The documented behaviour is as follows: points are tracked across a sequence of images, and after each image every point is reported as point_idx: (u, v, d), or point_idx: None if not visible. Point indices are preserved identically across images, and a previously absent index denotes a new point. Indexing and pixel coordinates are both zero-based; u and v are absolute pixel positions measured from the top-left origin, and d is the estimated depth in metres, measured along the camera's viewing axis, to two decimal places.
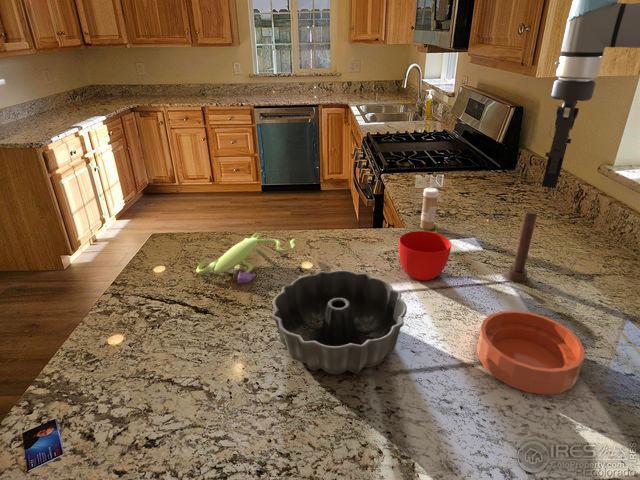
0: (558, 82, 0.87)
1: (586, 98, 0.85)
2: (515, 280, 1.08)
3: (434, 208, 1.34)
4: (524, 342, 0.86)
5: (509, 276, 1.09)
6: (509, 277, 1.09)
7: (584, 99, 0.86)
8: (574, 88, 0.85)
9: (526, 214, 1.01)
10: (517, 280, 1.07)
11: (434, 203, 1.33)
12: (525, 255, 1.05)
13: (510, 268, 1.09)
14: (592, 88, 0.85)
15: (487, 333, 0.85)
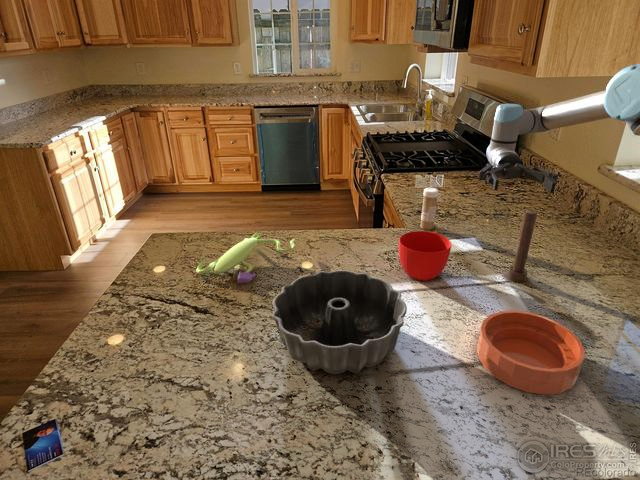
0: None
1: (502, 157, 1.23)
2: (515, 280, 1.08)
3: (434, 208, 1.34)
4: (524, 342, 0.86)
5: (509, 276, 1.09)
6: (509, 277, 1.09)
7: (501, 158, 1.23)
8: (495, 163, 1.26)
9: (526, 214, 1.01)
10: (517, 280, 1.07)
11: (434, 203, 1.33)
12: (525, 255, 1.05)
13: (510, 268, 1.09)
14: (504, 153, 1.25)
15: (487, 333, 0.85)
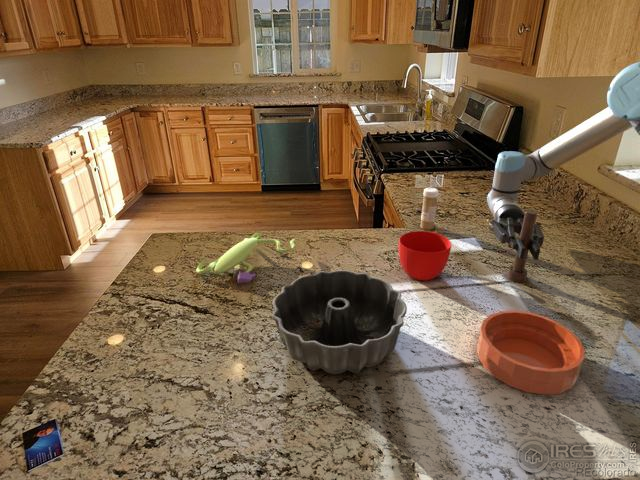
0: None
1: (504, 210, 1.17)
2: (515, 280, 1.08)
3: (434, 208, 1.34)
4: (524, 342, 0.86)
5: (509, 276, 1.09)
6: (509, 277, 1.09)
7: (503, 212, 1.17)
8: (496, 216, 1.20)
9: (526, 214, 1.01)
10: (517, 280, 1.07)
11: (434, 203, 1.33)
12: (525, 255, 1.05)
13: (510, 268, 1.09)
14: (506, 206, 1.19)
15: (487, 333, 0.85)
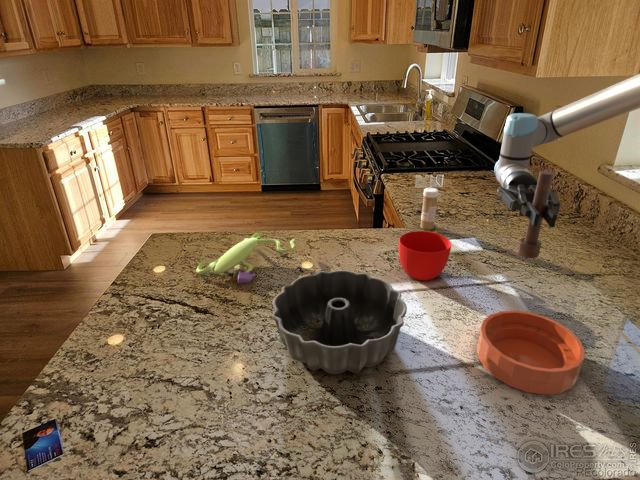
0: None
1: (514, 177, 1.04)
2: (527, 253, 0.94)
3: (434, 208, 1.34)
4: (524, 342, 0.86)
5: (520, 249, 0.95)
6: (520, 250, 0.95)
7: (513, 178, 1.04)
8: (505, 184, 1.07)
9: (540, 175, 0.88)
10: (529, 253, 0.94)
11: (434, 203, 1.33)
12: (539, 224, 0.92)
13: (521, 240, 0.96)
14: (516, 173, 1.05)
15: (487, 333, 0.85)
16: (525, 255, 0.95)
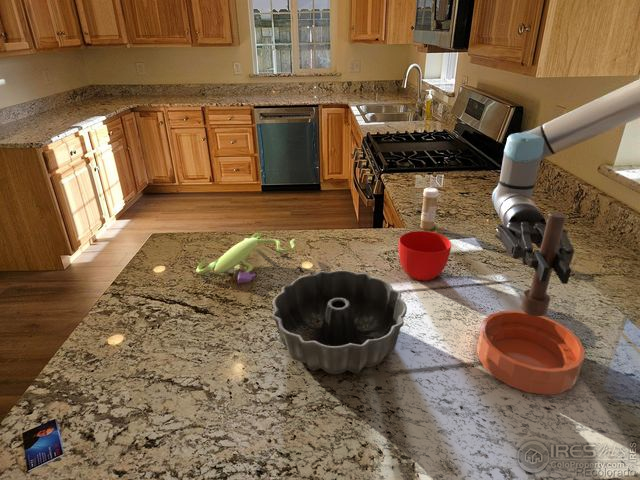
0: None
1: (516, 212, 0.86)
2: (533, 310, 0.76)
3: (434, 208, 1.34)
4: (524, 342, 0.86)
5: (524, 304, 0.78)
6: (524, 306, 0.78)
7: (515, 214, 0.86)
8: (505, 219, 0.89)
9: (550, 218, 0.70)
10: (535, 311, 0.76)
11: (434, 203, 1.33)
12: (547, 276, 0.74)
13: (526, 293, 0.78)
14: (519, 206, 0.87)
15: (487, 333, 0.85)
16: (530, 312, 0.77)
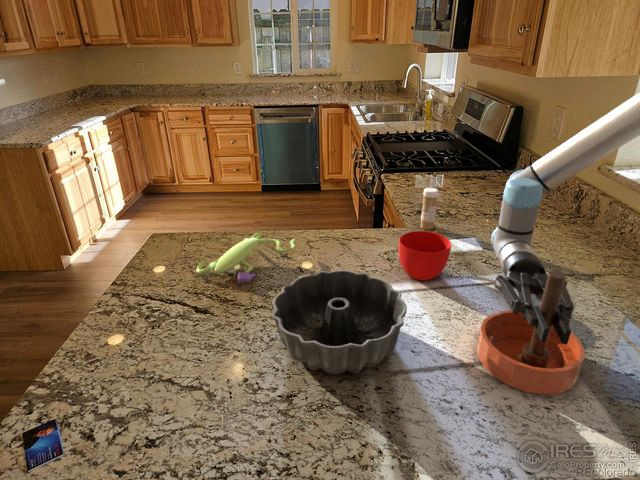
0: None
1: (515, 261, 0.86)
2: (533, 365, 0.77)
3: (434, 208, 1.34)
4: (524, 342, 0.86)
5: (524, 358, 0.78)
6: (524, 360, 0.78)
7: (514, 263, 0.86)
8: (504, 267, 0.89)
9: (550, 278, 0.71)
10: (536, 366, 0.77)
11: (434, 203, 1.33)
12: None
13: (526, 347, 0.78)
14: (518, 255, 0.88)
15: (487, 333, 0.85)
16: None
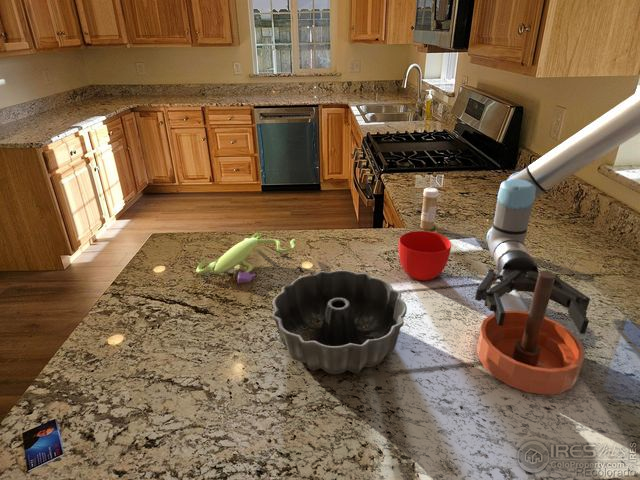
0: None
1: (509, 260, 0.89)
2: (524, 362, 0.80)
3: (434, 208, 1.34)
4: None
5: (516, 355, 0.81)
6: (516, 356, 0.81)
7: (508, 261, 0.89)
8: (498, 265, 0.92)
9: (540, 278, 0.74)
10: (527, 362, 0.80)
11: (434, 203, 1.33)
12: (538, 330, 0.77)
13: (517, 344, 0.81)
14: (511, 254, 0.91)
15: (487, 333, 0.85)
16: None
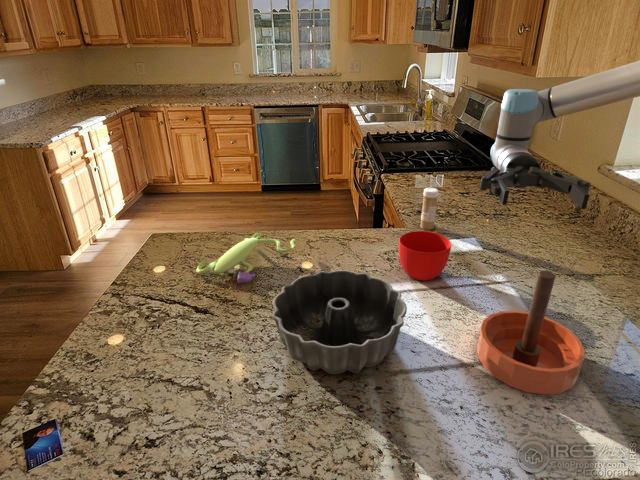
0: None
1: (512, 158, 0.93)
2: (524, 362, 0.80)
3: (434, 208, 1.34)
4: None
5: (516, 355, 0.81)
6: (516, 356, 0.81)
7: (511, 160, 0.93)
8: (502, 167, 0.96)
9: (540, 278, 0.74)
10: (527, 362, 0.80)
11: (434, 203, 1.33)
12: (538, 330, 0.77)
13: (517, 344, 0.81)
14: (515, 154, 0.94)
15: (487, 333, 0.85)
16: None
